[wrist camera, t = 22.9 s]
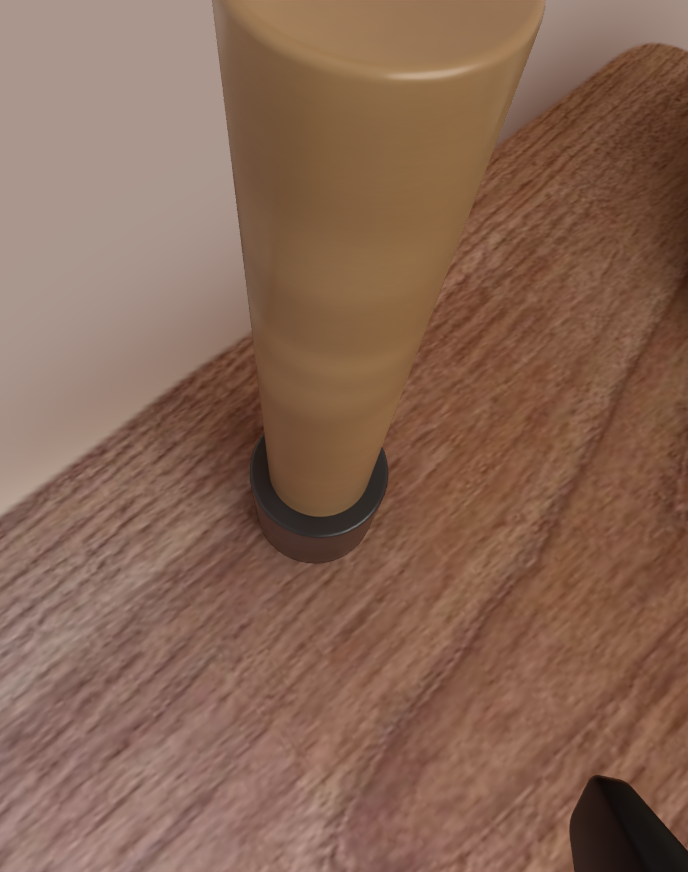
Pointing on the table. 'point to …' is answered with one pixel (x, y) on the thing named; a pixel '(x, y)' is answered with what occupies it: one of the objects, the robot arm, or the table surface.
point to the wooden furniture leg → (352, 223)
